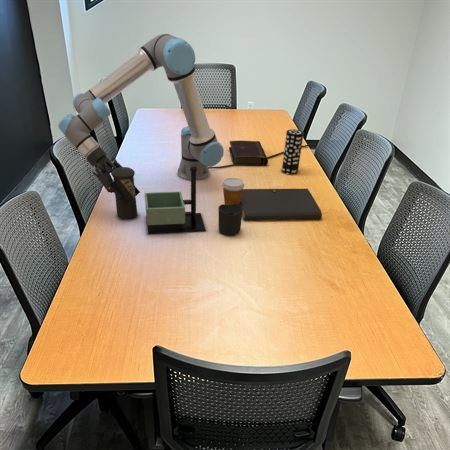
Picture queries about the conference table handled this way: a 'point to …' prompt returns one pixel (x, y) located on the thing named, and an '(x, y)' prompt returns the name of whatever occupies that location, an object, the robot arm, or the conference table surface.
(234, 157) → the diary
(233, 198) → the disposable coffee cup
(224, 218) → the pen holder
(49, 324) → the conference table surface
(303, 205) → the file folder
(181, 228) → the green box on stand
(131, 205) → the container
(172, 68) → the robot arm
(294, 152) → the white-spotted black cylinder
